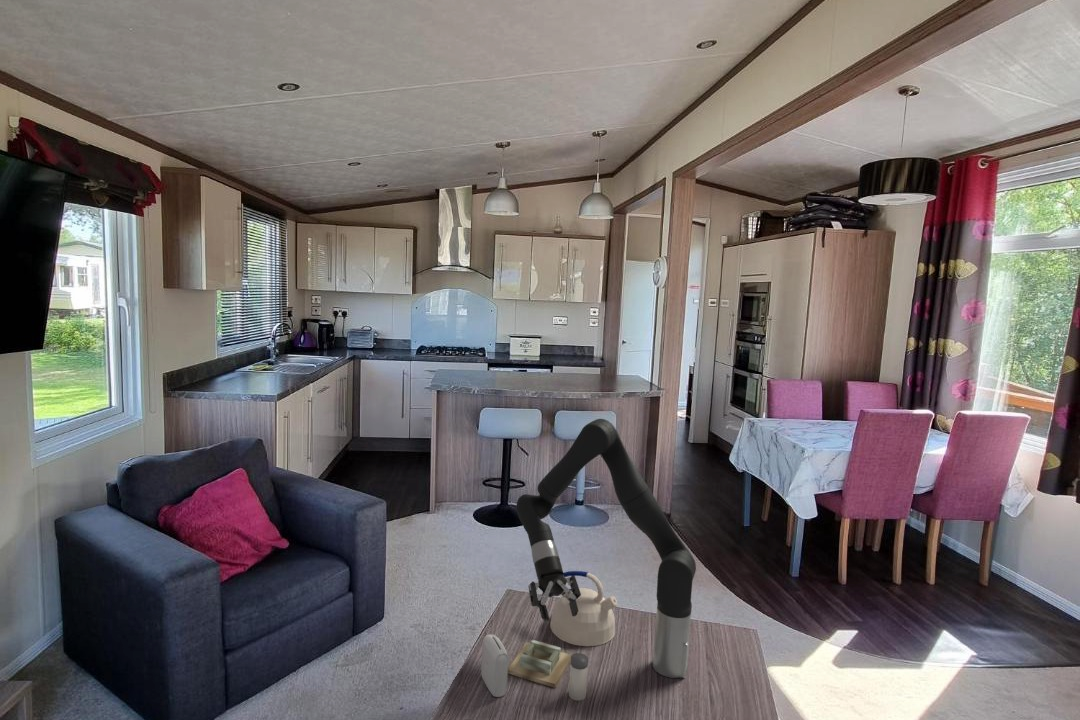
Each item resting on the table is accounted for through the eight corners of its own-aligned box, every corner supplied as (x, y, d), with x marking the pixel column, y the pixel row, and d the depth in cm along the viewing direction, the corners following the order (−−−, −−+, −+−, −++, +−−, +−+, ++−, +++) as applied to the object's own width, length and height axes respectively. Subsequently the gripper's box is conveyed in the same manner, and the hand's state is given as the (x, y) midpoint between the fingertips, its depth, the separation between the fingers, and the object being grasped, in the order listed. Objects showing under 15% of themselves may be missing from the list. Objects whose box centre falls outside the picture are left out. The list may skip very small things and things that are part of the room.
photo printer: (478, 675, 156) (480, 631, 155) (493, 671, 158) (496, 628, 156) (492, 699, 147) (495, 653, 145) (508, 695, 149) (511, 649, 147)
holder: (572, 658, 165) (573, 645, 165) (555, 687, 152) (556, 673, 152) (526, 645, 170) (527, 632, 170) (506, 672, 157) (507, 658, 157)
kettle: (603, 655, 168) (607, 595, 166) (538, 634, 177) (541, 577, 175) (624, 622, 186) (628, 567, 184) (565, 604, 195) (568, 552, 193)
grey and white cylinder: (587, 692, 151) (590, 655, 150) (582, 702, 147) (585, 665, 146) (571, 687, 153) (574, 651, 152) (566, 697, 149) (568, 660, 148)
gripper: (527, 558, 163) (541, 618, 154) (573, 551, 169) (589, 609, 159) (519, 567, 168) (532, 626, 159) (564, 561, 174) (579, 617, 165)
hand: (561, 618), depth 159 cm, fingers open, 8 cm apart
